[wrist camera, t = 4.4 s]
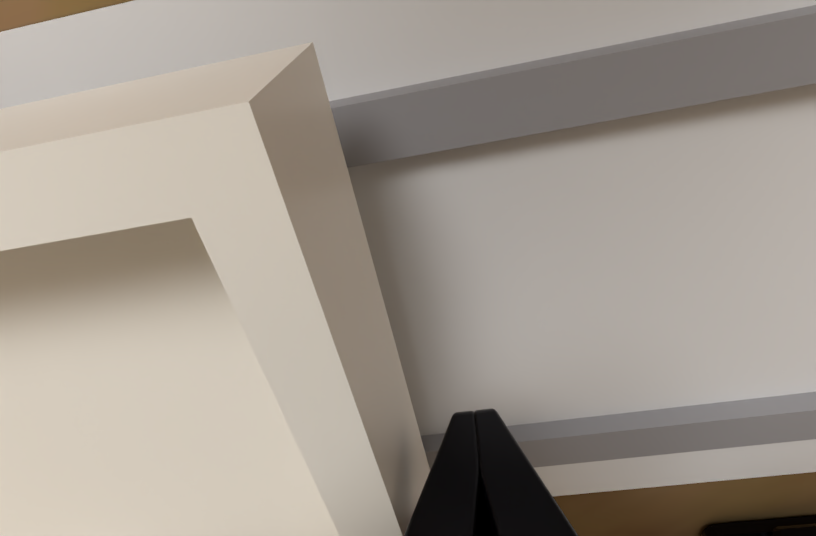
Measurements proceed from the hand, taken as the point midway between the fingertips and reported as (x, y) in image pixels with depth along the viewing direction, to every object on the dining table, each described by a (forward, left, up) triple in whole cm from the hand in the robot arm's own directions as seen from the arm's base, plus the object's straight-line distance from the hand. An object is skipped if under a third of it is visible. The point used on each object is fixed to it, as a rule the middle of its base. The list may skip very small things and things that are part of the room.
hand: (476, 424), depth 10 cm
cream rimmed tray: (0, +8, -3) cm, 9 cm away
